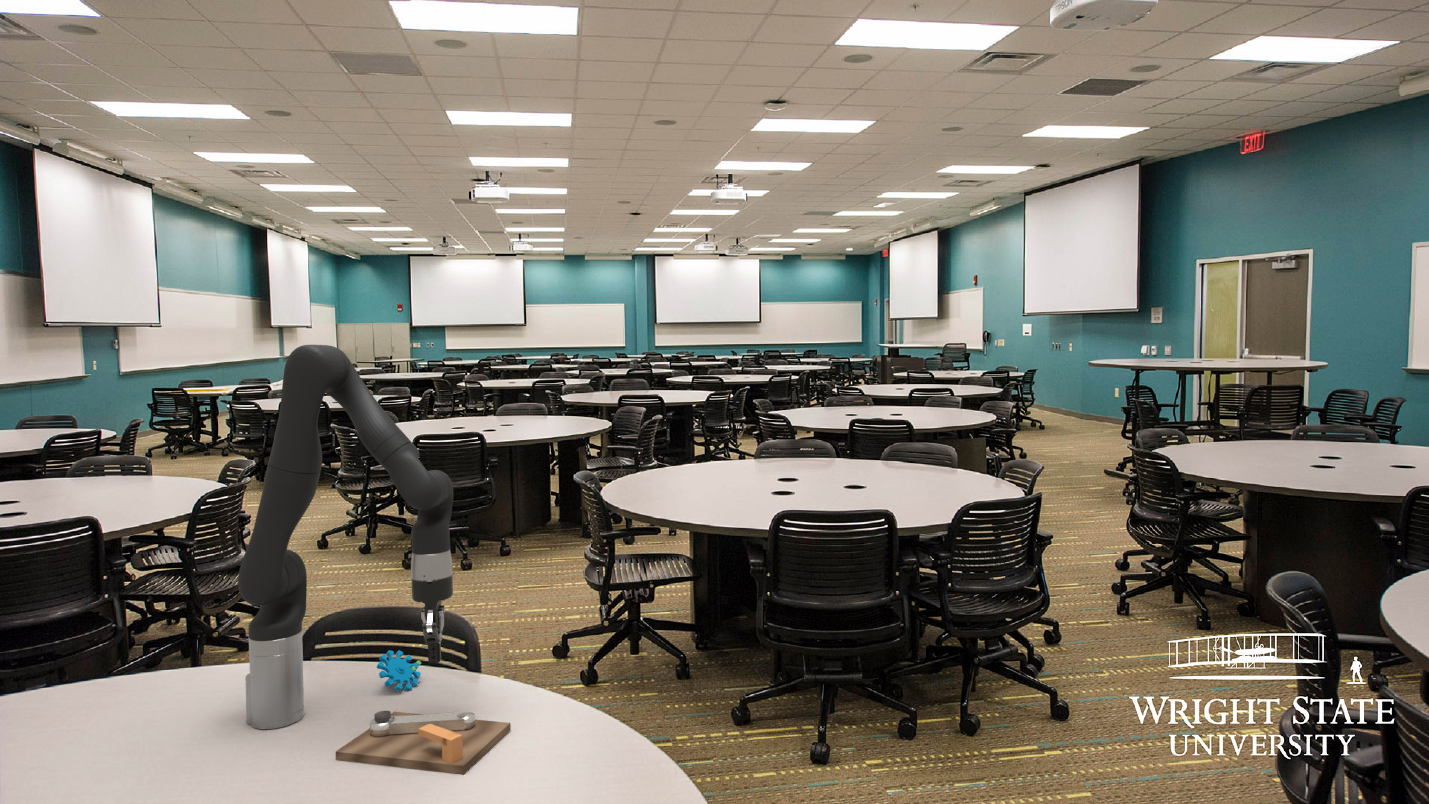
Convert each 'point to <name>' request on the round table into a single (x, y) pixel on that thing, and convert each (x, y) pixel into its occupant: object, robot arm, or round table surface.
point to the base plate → (422, 747)
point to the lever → (422, 723)
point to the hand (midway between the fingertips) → (434, 661)
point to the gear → (399, 670)
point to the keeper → (444, 741)
